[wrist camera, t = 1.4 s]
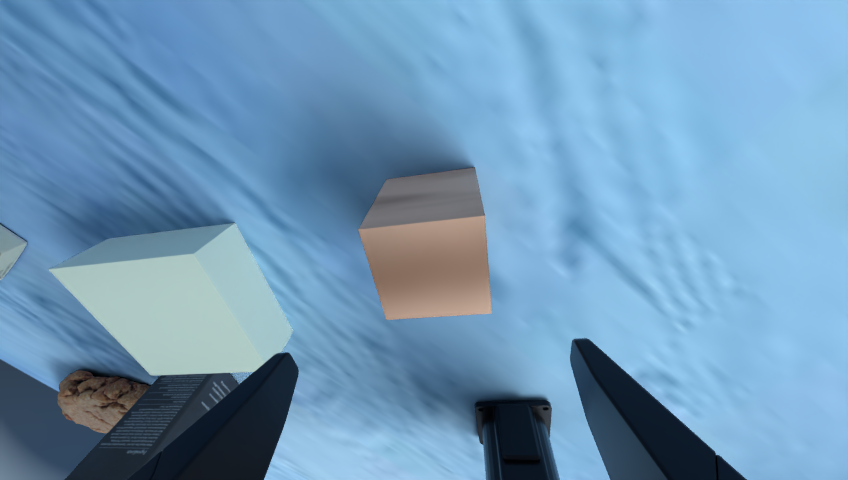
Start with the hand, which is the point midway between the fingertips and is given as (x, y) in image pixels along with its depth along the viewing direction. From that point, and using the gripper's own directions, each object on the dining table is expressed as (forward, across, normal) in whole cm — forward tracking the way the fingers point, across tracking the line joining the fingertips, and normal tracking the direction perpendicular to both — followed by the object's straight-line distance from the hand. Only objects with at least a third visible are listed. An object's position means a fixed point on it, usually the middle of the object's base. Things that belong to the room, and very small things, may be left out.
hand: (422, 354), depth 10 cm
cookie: (+10, +36, +17) cm, 41 cm away
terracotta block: (+10, 0, 0) cm, 10 cm away
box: (+10, +24, +16) cm, 30 cm away
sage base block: (+10, +18, +4) cm, 21 cm away
